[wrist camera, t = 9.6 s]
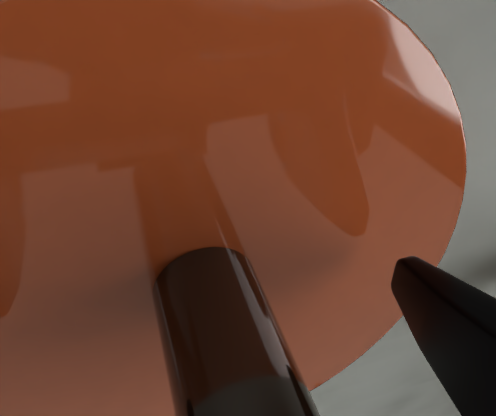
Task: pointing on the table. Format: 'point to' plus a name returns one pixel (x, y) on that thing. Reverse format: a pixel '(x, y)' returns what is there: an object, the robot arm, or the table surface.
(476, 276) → the table surface
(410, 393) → the table surface
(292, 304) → the pot lid
